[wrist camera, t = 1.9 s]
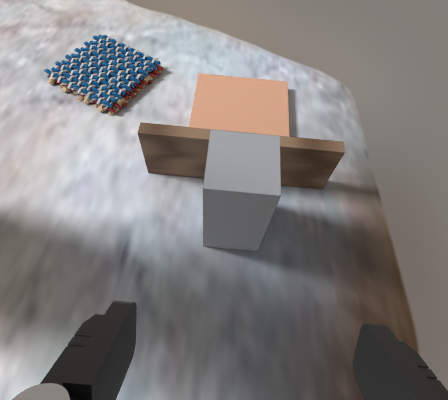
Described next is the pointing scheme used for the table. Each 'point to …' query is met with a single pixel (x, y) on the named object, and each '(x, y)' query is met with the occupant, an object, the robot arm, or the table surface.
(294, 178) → the walnut screen
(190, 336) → the table surface
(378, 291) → the table surface
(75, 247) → the table surface
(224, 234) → the plain grey block
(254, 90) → the terracotta tile
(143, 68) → the woven mat
